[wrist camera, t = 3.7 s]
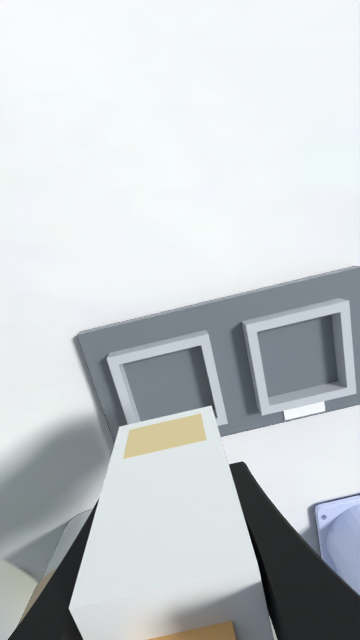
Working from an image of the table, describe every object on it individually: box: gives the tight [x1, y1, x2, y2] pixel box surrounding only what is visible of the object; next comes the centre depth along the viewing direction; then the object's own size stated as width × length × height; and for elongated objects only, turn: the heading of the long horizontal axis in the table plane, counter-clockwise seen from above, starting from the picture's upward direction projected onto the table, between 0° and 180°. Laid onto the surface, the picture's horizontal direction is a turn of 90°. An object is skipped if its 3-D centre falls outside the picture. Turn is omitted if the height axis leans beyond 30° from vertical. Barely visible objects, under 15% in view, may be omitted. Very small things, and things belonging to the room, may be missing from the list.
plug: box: [69, 405, 274, 640], centre depth 9 cm, size 4×4×7 cm
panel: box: [77, 266, 360, 444], centre depth 18 cm, size 10×19×2 cm, turn 103°
